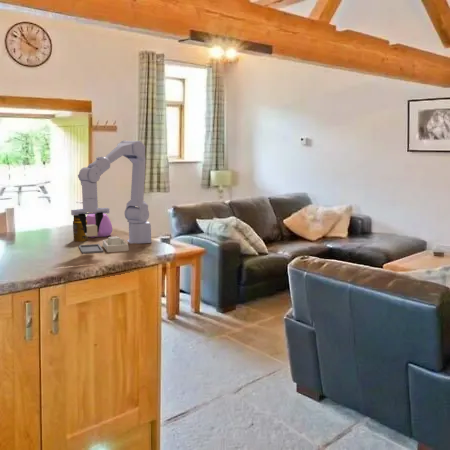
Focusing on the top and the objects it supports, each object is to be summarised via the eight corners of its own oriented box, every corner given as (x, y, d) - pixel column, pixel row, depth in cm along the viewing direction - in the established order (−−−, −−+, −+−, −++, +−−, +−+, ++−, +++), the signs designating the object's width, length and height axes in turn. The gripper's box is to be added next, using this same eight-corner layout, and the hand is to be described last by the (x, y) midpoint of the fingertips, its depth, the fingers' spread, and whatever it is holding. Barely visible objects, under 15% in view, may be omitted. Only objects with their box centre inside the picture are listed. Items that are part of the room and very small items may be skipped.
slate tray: (99, 246, 217) (98, 243, 217) (103, 253, 205) (103, 250, 205) (78, 248, 214) (78, 245, 214) (82, 254, 202) (82, 251, 202)
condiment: (90, 242, 227) (89, 215, 225) (71, 244, 222) (70, 216, 220) (85, 239, 233) (84, 213, 231) (66, 241, 228) (65, 214, 226)
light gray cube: (117, 245, 217) (117, 236, 216) (120, 247, 214) (120, 237, 213) (108, 246, 215) (108, 237, 215) (111, 248, 212) (110, 238, 211)
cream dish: (123, 245, 220) (122, 238, 219) (128, 251, 208) (128, 244, 208) (102, 247, 217) (102, 240, 216) (107, 253, 205) (107, 246, 205)
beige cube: (95, 234, 208) (95, 224, 207) (97, 235, 204) (97, 225, 204) (85, 234, 206) (85, 224, 206) (87, 236, 203) (86, 226, 202)
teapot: (115, 238, 235) (115, 212, 233) (85, 240, 230) (84, 214, 228) (107, 231, 253) (107, 207, 251) (80, 232, 248) (78, 208, 246)
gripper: (106, 196, 209) (107, 229, 212) (69, 197, 203) (70, 231, 206) (110, 198, 203) (111, 232, 205) (72, 199, 197) (73, 234, 199)
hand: (91, 232), depth 205 cm, fingers closed on beige cube, 4 cm apart
